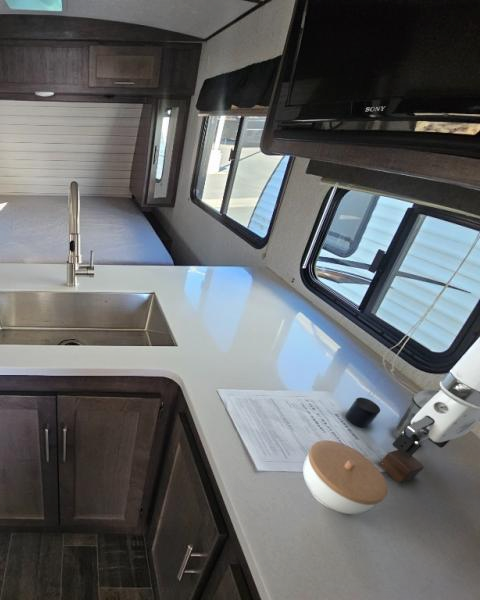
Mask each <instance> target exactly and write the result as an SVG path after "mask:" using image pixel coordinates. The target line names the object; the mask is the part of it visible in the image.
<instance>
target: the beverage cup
mask: <svg viewBox="0 0 480 600" xmlns="http://www.w3.org/2000/svg"><path fill="white" fill-rule="evenodd" d="M439 391H440V390H436V389H425V390H421V391H418V392H417V393H416V394H415V395H413V396H412V397H411V400H410V403H409V406H408V408H407V410H406V411H405V412H404V414H403V416H402V417H401V418H400V421H399V422H398V424H397V425H396V427H395V429H394V430H393V435H394V437H395V438H396V439H397V438H398V437H399V436H400V435H401V433H402V432H403V431H404V430H405V429H406V428H407V427H408V426H409V425H411V420H412V419H413V417H414V416H415V415H416V414H417V413H418V412H419V411H420V410H421V408H422V407H423V406H424V405H425V404H426V403H427V402H428V401H429V400H431V399H432V398H433V396H434V395H436V394H437V393H438V392H439ZM423 430H425V431H426V432H427V431H428V429H427V428H425V429H423ZM416 435H417V436H418V439H419V438H420V437H422V436H423V435H424V434H422V433H421V432H420V431H419V432H418V433H417V434H416Z"/></svg>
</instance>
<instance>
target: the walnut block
mask: <svg viewBox="0 0 480 600" xmlns="http://www.w3.org/2000/svg"><path fill="white" fill-rule="evenodd" d="M382 463H383V464H382ZM378 465H379V466H380V468H382V469H383V470H384V471H385V472H386V473H387V474H389V475H390V476H391V477H392V478H393V479H394V480H395V481H396V482H397V483H398V484H401V483H403V482H406V481H410V480H412V479H415V478H416V476H418V475H419V473H421V472H422V470H424V469H425V468H426V466H425V465H424V464H423V463H422V462H421V461H419V460H418V459H417V458H416V457H414V455H412V456H411V457H406V456H405V455H404V454H403V453H401V452H400V451H399V450H398V449H395V450H392V451H389V452H387V454H386V455H385V456H384V457H383V458H382V459H381V461H380V462H379V463H378Z"/></svg>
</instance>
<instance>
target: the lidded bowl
mask: <svg viewBox="0 0 480 600" xmlns="http://www.w3.org/2000/svg"><path fill="white" fill-rule="evenodd" d="M302 473H303V478H304V481H305V484H306V486H307V488H308V490H309V491H310V493H311V494H312V496H313V497H314V498H315V499H316V501H318V502H319V504H321V505H322V506H324V507H325V508H327V509H330V510H332V511H335V512H338V513H341V514H346V515H359V514H360V515H361V514H364V513H367V512H369V511H370V510H371V509H373V508H375V507H376V506H377V505H378V504H379V503H381V502H383V500H384V499H386V497H387V495H388V492H389V491H388V488H389V487H388V483H387V481H386V479H385V477H384V474H382V472H381V470H380V469H379V468H378V467H377V465H376V464H374V463H373V461H371V460H370V459H369V457H366V456H365V455H364V454H362V452H360V451H358V450H357V449H355V448H353V447H351V446H350V445H347V444H344V443H342V442H339V441H334V440H329V439H328V440H327V439H326V440H319V441H316V442H315V443H313V444H312V446H311V447H310V449H309V451H308V453H307V454H306V457H305V459H304V462H303V466H302Z"/></svg>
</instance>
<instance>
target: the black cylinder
mask: <svg viewBox="0 0 480 600" xmlns="http://www.w3.org/2000/svg"><path fill="white" fill-rule="evenodd" d="M380 412H381V408H380V406H379V405H378V404H377V403H376V402H374V401H373V400H371V399H369V398H366V397H361V396H359V397H356V398H355V400H354V402H353V403H352V404H351V406H350V407H349V408H348V410H347V411H346V413H345V418H346V420H347V421H348V422H349V423H350V424H351V425H353V426H355V427H357V428H360V429H367V428H369V427H370V426H371V424H372V423H373V421H374V420H375V419H376V418H377V417H378V415H379V414H380Z"/></svg>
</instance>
